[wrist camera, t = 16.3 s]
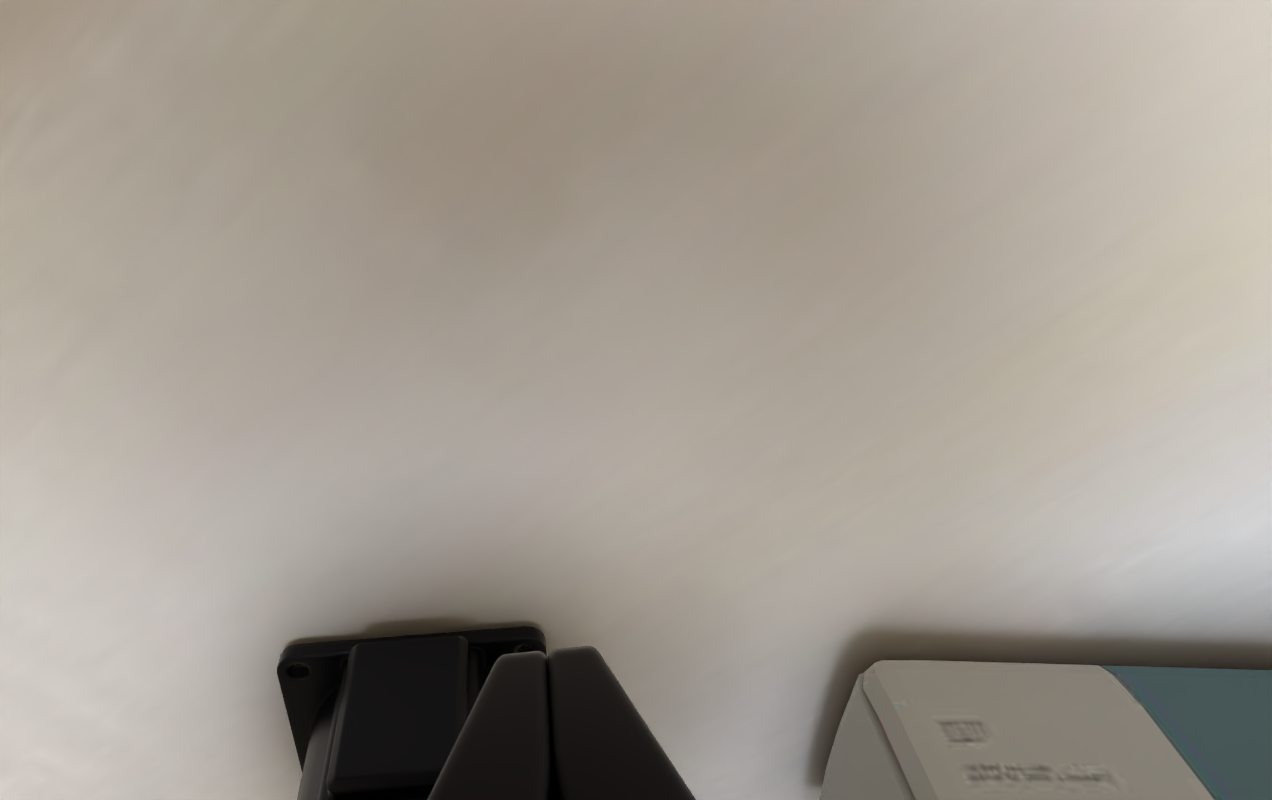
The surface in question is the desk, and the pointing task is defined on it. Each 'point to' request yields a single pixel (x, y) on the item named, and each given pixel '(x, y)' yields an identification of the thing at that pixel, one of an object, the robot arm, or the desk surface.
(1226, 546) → the desk surface
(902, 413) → the desk surface
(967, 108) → the desk surface
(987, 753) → the radio
